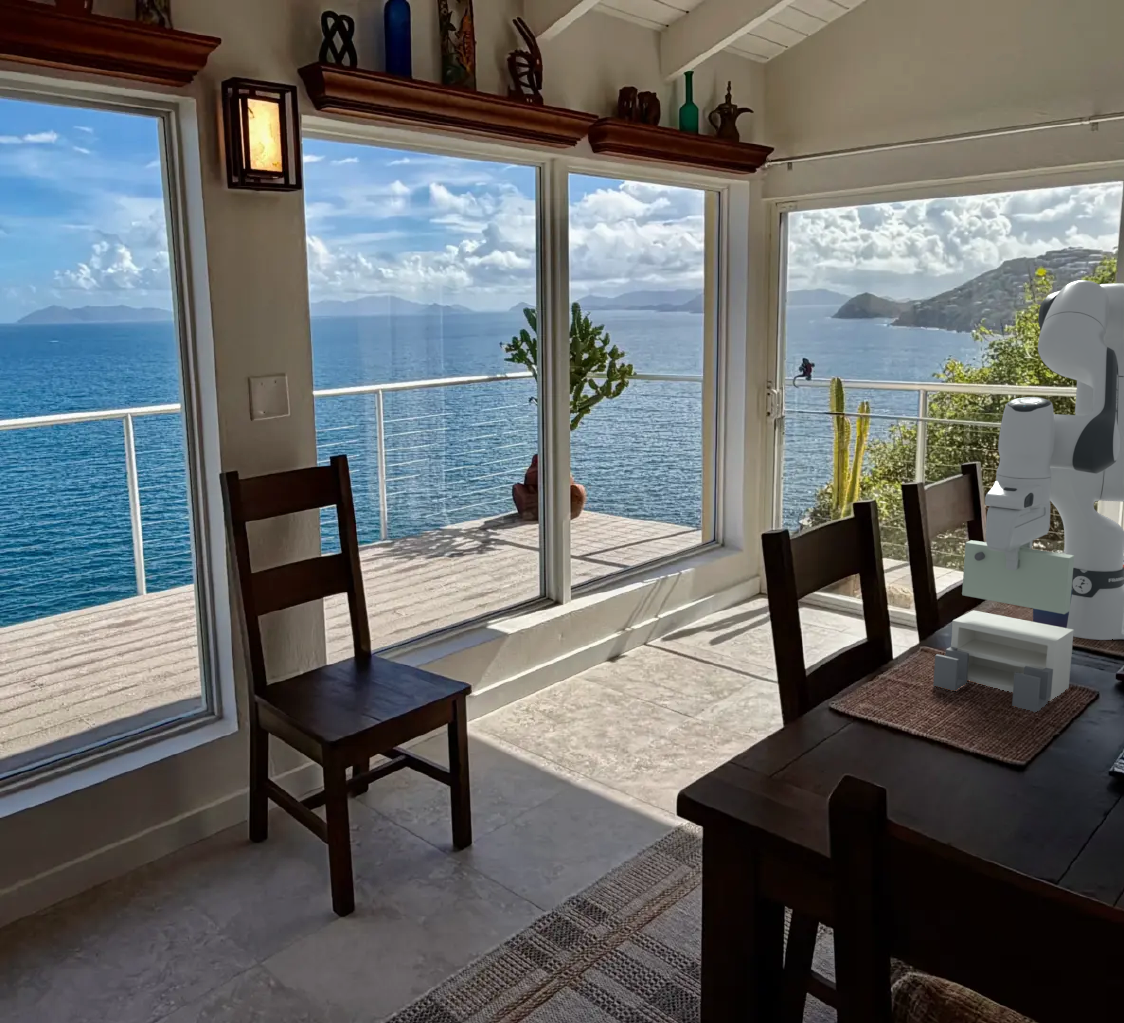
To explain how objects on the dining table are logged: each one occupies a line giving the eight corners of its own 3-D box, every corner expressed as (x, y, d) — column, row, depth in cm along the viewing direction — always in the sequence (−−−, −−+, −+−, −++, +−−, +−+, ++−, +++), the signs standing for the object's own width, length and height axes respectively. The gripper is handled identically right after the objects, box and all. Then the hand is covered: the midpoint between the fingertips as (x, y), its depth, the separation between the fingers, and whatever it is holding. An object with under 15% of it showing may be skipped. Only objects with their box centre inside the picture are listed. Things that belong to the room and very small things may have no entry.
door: (967, 592, 190) (971, 540, 188) (1069, 611, 177) (1074, 555, 175) (959, 596, 187) (962, 543, 185) (1062, 615, 175) (1066, 559, 173)
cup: (1058, 656, 199) (1064, 582, 196) (1071, 668, 193) (1078, 591, 190) (1022, 655, 200) (1028, 582, 197) (1034, 667, 193) (1040, 591, 190)
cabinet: (969, 665, 195) (973, 610, 193) (1068, 688, 182) (1073, 629, 180) (933, 686, 184) (936, 628, 182) (1036, 712, 172) (1041, 650, 169)
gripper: (1026, 481, 188) (1021, 553, 191) (981, 497, 174) (975, 575, 177) (1062, 484, 184) (1056, 559, 187) (1018, 501, 169) (1012, 581, 172)
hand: (1016, 567), depth 181 cm, fingers closed on door, 2 cm apart
